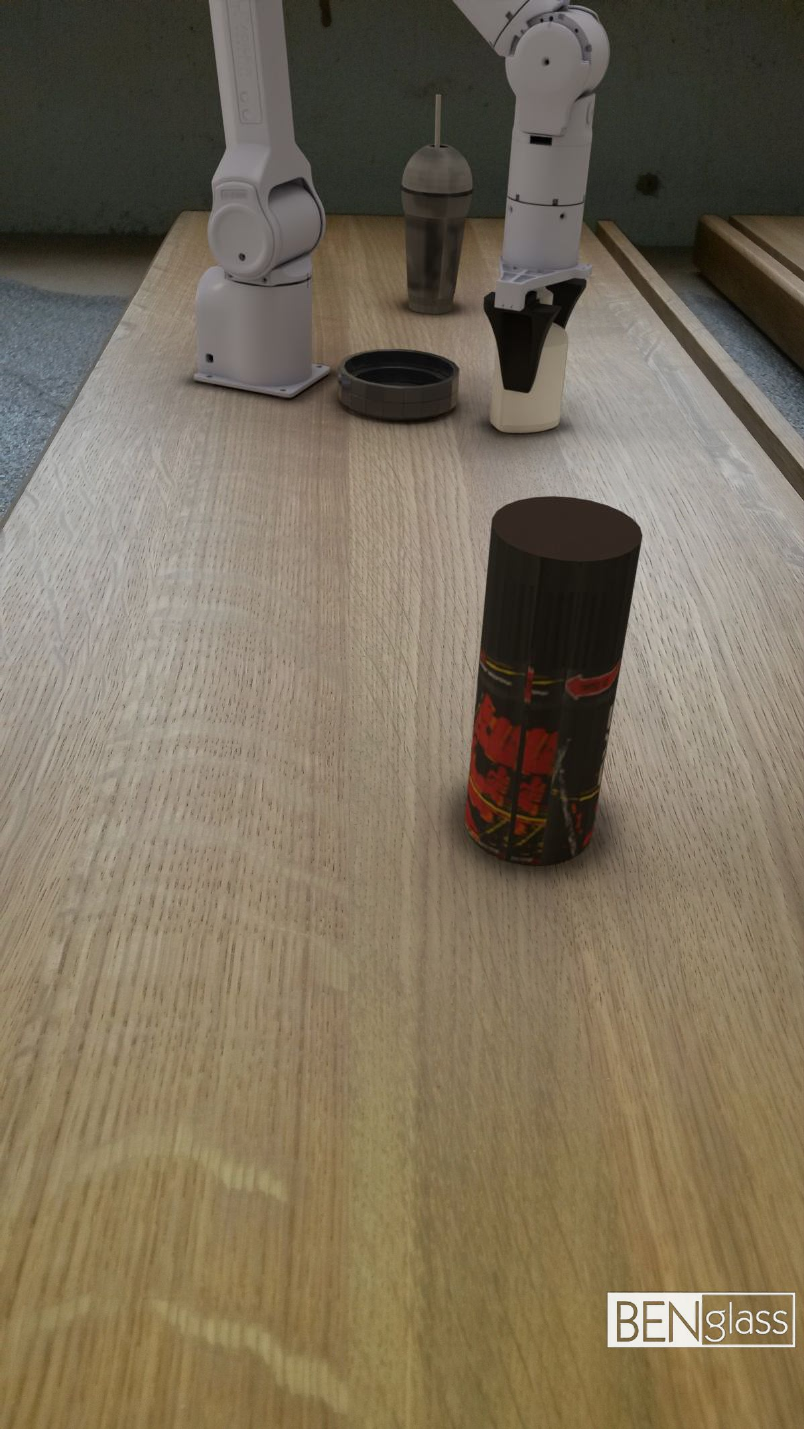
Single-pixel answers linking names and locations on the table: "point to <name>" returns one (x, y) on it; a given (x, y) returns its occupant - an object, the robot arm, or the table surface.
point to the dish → (398, 384)
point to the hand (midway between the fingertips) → (527, 380)
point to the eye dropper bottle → (534, 386)
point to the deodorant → (548, 674)
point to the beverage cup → (434, 222)
